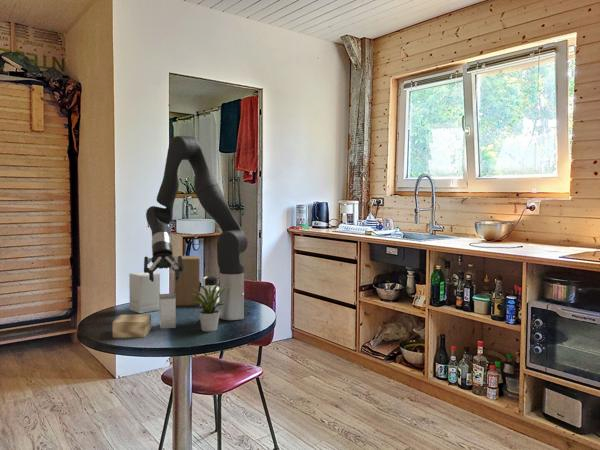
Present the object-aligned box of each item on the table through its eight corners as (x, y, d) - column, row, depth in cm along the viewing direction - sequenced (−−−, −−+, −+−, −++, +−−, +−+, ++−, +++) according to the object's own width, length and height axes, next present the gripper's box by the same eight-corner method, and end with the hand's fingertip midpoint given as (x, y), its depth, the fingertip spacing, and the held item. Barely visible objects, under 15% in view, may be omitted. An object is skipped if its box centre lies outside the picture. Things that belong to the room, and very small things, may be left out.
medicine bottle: (219, 302, 204) (219, 275, 203) (216, 306, 197) (217, 278, 196) (202, 302, 203) (202, 275, 203) (199, 306, 196) (199, 278, 196)
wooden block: (174, 301, 205) (174, 256, 204) (197, 300, 208) (197, 255, 207) (175, 306, 196) (175, 258, 195) (199, 305, 199) (199, 258, 198)
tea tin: (174, 323, 168) (174, 293, 168) (175, 327, 163) (175, 296, 163) (159, 325, 166) (159, 294, 166) (160, 328, 162) (160, 297, 161)
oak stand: (151, 328, 161) (151, 314, 161) (144, 337, 151) (144, 321, 151) (121, 329, 160) (120, 314, 160) (112, 337, 150) (112, 322, 150)
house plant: (228, 322, 172) (228, 277, 171) (237, 332, 159) (237, 284, 158) (188, 325, 167) (189, 279, 166) (194, 335, 154) (195, 286, 153)
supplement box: (160, 310, 188) (160, 273, 188) (139, 314, 182) (139, 275, 181) (149, 306, 195) (149, 270, 194) (128, 310, 188) (128, 273, 187)
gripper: (143, 240, 179) (144, 274, 169) (181, 239, 184) (185, 273, 174) (142, 252, 184) (144, 286, 174) (179, 251, 189) (183, 284, 179)
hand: (164, 280), depth 174 cm, fingers open, 8 cm apart
